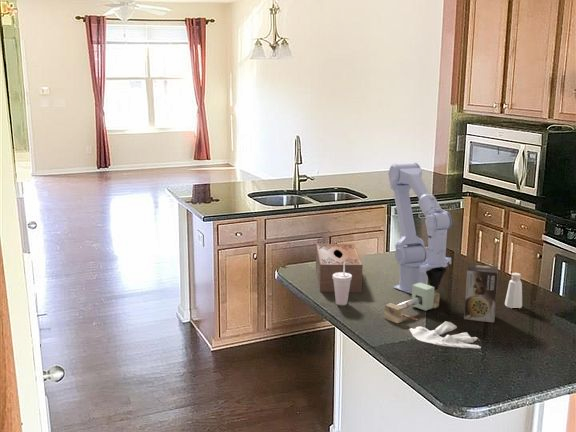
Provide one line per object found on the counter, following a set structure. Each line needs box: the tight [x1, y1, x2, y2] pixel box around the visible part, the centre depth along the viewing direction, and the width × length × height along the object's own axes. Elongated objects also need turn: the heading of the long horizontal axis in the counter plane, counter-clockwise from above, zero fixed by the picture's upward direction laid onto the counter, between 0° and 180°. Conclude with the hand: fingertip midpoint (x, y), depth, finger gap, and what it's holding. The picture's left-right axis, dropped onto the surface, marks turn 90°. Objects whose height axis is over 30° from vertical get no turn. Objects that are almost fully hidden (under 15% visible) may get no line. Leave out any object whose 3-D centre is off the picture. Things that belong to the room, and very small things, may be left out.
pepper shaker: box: [504, 272, 523, 309], centre depth 197 cm, size 5×5×11 cm
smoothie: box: [332, 262, 352, 306], centre depth 198 cm, size 6×6×14 cm
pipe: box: [389, 296, 422, 314], centre depth 192 cm, size 21×2×2 cm, turn 131°
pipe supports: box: [384, 291, 440, 324], centre depth 192 cm, size 21×10×4 cm, turn 131°
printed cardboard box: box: [463, 263, 499, 324], centre depth 187 cm, size 9×6×16 cm
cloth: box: [409, 320, 482, 349], centre depth 176 cm, size 20×22×2 cm
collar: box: [411, 283, 435, 312], centre depth 195 cm, size 4×6×7 cm
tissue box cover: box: [315, 243, 363, 293], centre depth 222 cm, size 26×14×10 cm, turn 1°
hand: (434, 288), depth 198 cm, fingers closed
